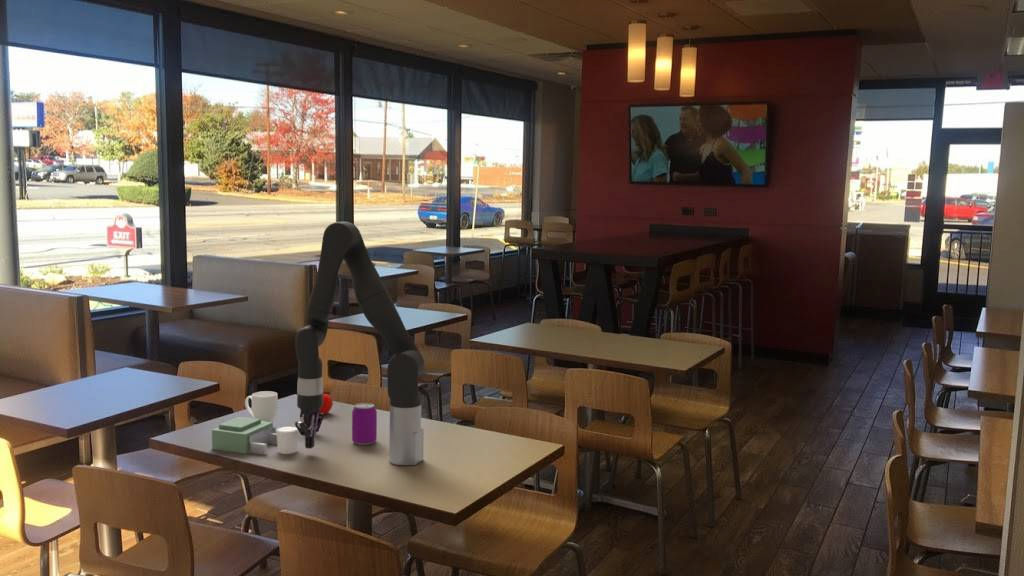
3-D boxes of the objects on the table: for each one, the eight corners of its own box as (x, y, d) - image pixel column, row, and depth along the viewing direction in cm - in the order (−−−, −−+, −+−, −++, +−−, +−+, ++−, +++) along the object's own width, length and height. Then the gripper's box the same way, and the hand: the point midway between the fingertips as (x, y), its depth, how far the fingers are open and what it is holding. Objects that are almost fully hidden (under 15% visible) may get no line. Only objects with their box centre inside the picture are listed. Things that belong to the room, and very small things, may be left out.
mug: (283, 425, 280) (282, 392, 279) (266, 432, 272) (266, 398, 271) (254, 421, 285) (254, 388, 283) (237, 427, 277) (237, 393, 276)
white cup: (287, 456, 249) (286, 433, 248) (271, 451, 252) (270, 429, 252) (304, 450, 255) (303, 428, 254) (288, 446, 258) (288, 424, 257)
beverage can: (367, 437, 270) (367, 401, 268) (381, 442, 264) (381, 405, 263) (347, 441, 264) (347, 404, 263) (361, 447, 259) (361, 409, 258)
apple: (306, 415, 293) (306, 395, 292) (315, 410, 301) (315, 390, 300) (327, 417, 292) (327, 396, 291) (336, 411, 299) (336, 391, 299)
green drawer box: (272, 440, 263) (272, 418, 262) (245, 453, 250) (245, 430, 249) (240, 436, 267) (240, 414, 266) (212, 448, 254) (211, 425, 253)
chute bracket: (286, 444, 260) (286, 428, 260) (264, 454, 249) (264, 438, 249) (270, 441, 262) (270, 426, 261) (248, 452, 251) (247, 436, 251)
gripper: (309, 397, 241) (308, 455, 243) (332, 388, 254) (332, 443, 256) (286, 395, 244) (286, 452, 246) (311, 385, 256) (310, 440, 258)
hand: (309, 447), depth 251 cm, fingers closed
